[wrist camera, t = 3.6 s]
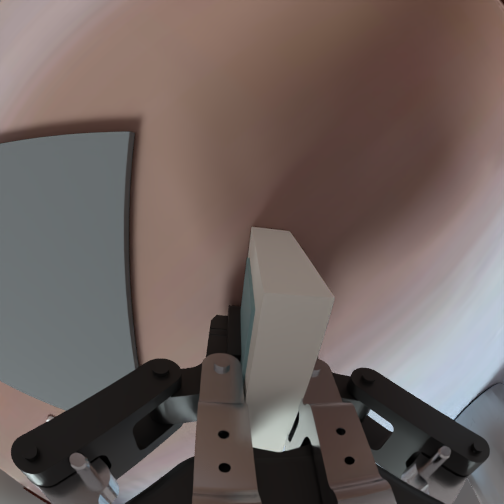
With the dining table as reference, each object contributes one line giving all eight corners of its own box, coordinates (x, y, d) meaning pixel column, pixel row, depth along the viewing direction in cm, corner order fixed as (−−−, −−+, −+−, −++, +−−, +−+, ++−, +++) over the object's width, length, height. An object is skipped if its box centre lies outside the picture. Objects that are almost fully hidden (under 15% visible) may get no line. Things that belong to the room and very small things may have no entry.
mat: (134, 132, 10) (129, 131, 9) (150, 427, 16) (148, 433, 15) (-51, 156, 9) (-57, 157, 8) (-8, 370, 14) (-11, 374, 14)
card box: (289, 231, 12) (334, 298, 6) (260, 387, 14) (269, 478, 9) (249, 226, 12) (259, 292, 6) (230, 386, 14) (228, 478, 9)
